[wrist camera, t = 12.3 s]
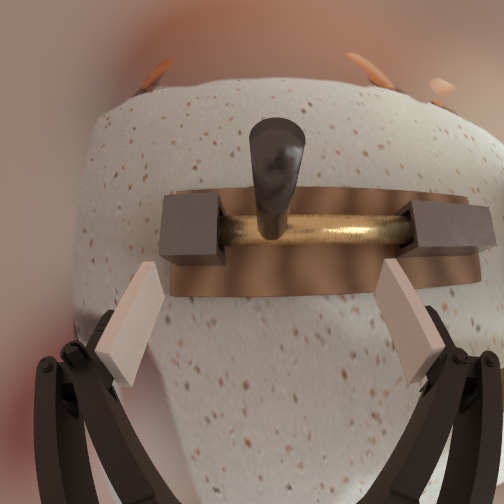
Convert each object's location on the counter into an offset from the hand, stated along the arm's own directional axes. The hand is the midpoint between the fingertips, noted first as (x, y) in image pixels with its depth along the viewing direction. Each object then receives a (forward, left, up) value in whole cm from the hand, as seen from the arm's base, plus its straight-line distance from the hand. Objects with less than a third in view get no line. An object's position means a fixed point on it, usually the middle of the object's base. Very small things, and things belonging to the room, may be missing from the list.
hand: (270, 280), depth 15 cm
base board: (-13, -1, -19) cm, 23 cm away
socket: (+3, -10, -17) cm, 21 cm away
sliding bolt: (-8, -4, -16) cm, 18 cm away
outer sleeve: (-25, +6, -17) cm, 31 cm away
